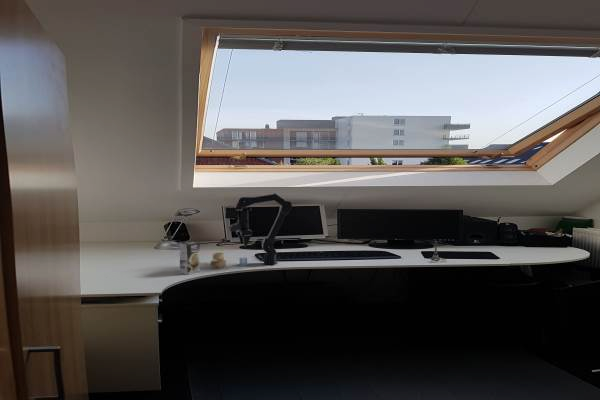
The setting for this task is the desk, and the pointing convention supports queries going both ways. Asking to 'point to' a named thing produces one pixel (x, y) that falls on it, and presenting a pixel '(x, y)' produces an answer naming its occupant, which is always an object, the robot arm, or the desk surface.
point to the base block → (218, 264)
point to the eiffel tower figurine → (437, 257)
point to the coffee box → (189, 257)
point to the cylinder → (243, 261)
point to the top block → (218, 257)
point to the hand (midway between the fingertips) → (243, 245)
